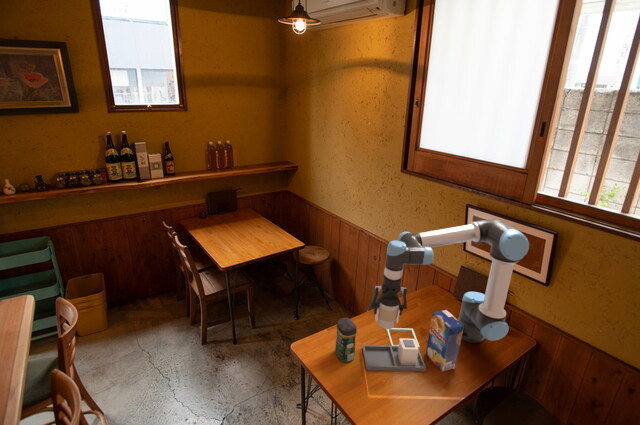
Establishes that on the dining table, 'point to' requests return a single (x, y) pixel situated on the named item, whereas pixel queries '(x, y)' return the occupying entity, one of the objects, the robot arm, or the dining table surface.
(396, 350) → the divided tray
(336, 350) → the coffee jar
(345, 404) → the dining table surface
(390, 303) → the coffee cup
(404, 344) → the white box
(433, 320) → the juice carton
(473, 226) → the robot arm
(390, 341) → the square frame
